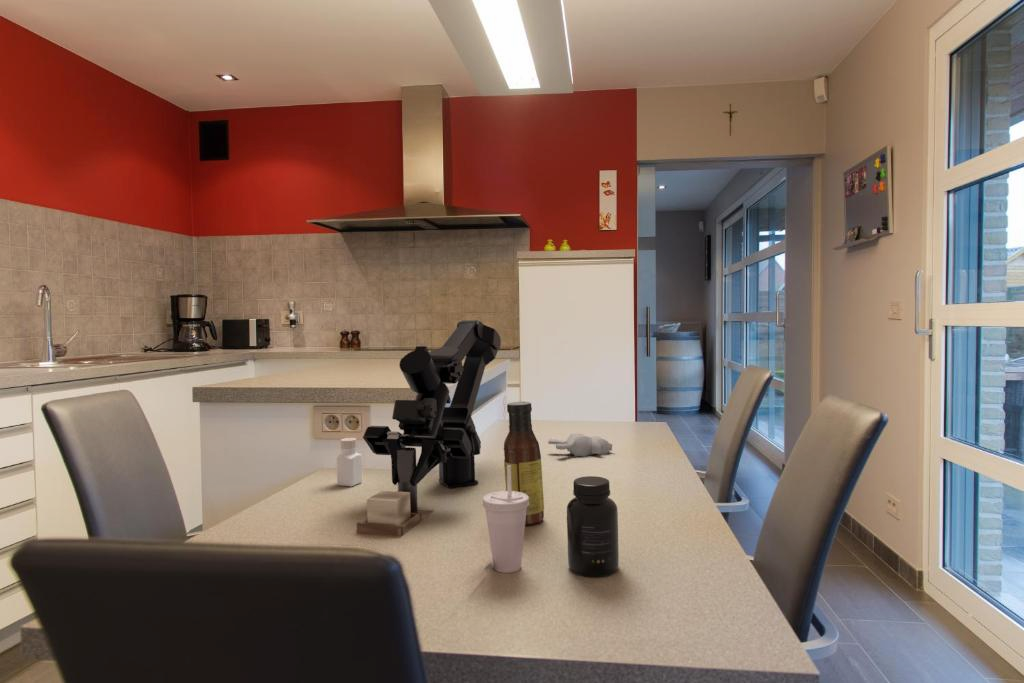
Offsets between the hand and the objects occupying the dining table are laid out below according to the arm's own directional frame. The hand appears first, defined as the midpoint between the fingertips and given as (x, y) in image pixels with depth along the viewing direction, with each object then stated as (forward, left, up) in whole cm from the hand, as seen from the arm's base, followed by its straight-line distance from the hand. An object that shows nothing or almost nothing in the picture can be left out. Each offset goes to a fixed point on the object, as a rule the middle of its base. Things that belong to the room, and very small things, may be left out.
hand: (403, 484), depth 104 cm
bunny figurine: (-53, -28, -7) cm, 60 cm away
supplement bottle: (-17, +31, -7) cm, 36 cm away
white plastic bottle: (+3, -30, -7) cm, 31 cm away
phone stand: (+2, +2, -6) cm, 7 cm away
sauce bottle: (-18, +9, -7) cm, 21 cm away
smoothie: (-7, +25, -7) cm, 27 cm away
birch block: (+4, +4, -5) cm, 8 cm away
